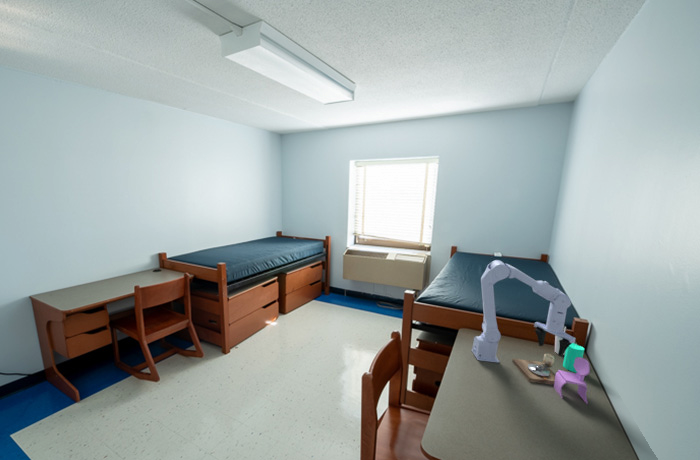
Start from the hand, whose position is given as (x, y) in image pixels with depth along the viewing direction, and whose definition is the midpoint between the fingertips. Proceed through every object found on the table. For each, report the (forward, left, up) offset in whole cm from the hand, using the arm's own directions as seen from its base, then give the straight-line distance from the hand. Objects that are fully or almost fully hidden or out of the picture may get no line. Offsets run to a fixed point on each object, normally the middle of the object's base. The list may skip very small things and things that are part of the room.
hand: (550, 350), depth 115 cm
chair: (0, -14, -10) cm, 17 cm away
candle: (+13, +5, -10) cm, 17 cm away
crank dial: (-4, -2, -8) cm, 9 cm away
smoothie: (+16, +17, -10) cm, 25 cm away
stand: (-6, -2, -10) cm, 11 cm away
